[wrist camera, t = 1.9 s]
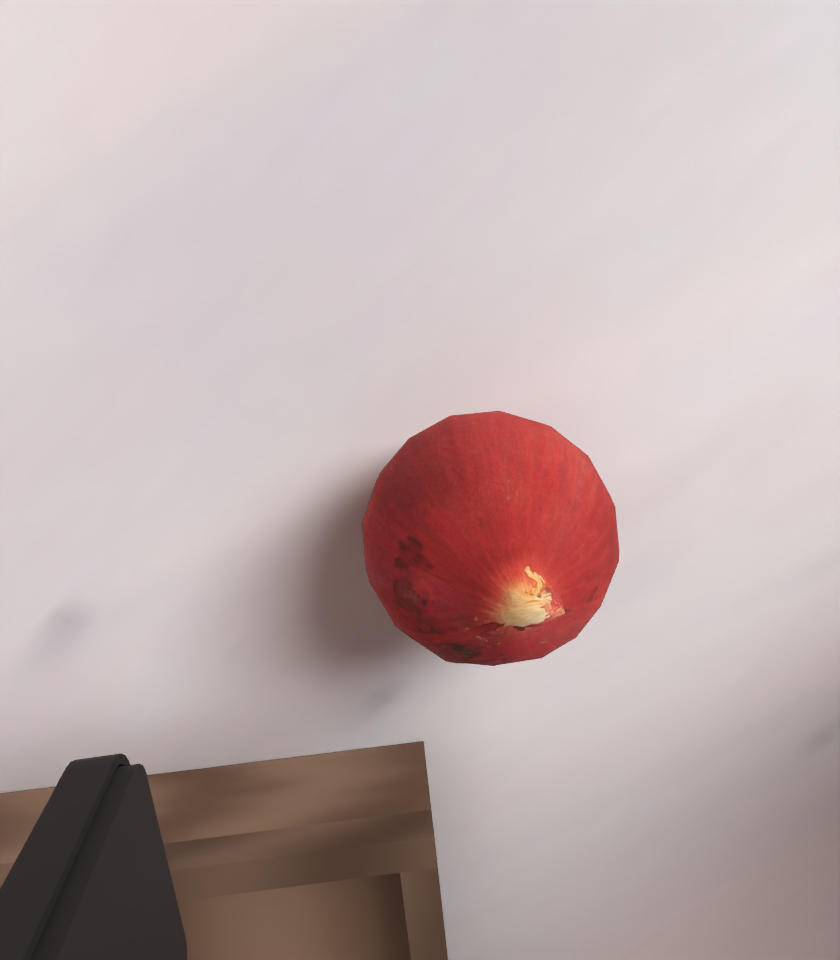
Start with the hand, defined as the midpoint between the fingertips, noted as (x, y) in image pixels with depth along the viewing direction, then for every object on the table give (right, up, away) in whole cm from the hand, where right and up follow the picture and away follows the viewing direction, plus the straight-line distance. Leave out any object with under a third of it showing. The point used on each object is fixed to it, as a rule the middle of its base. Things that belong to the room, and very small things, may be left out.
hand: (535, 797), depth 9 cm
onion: (0, +4, +12) cm, 13 cm away
